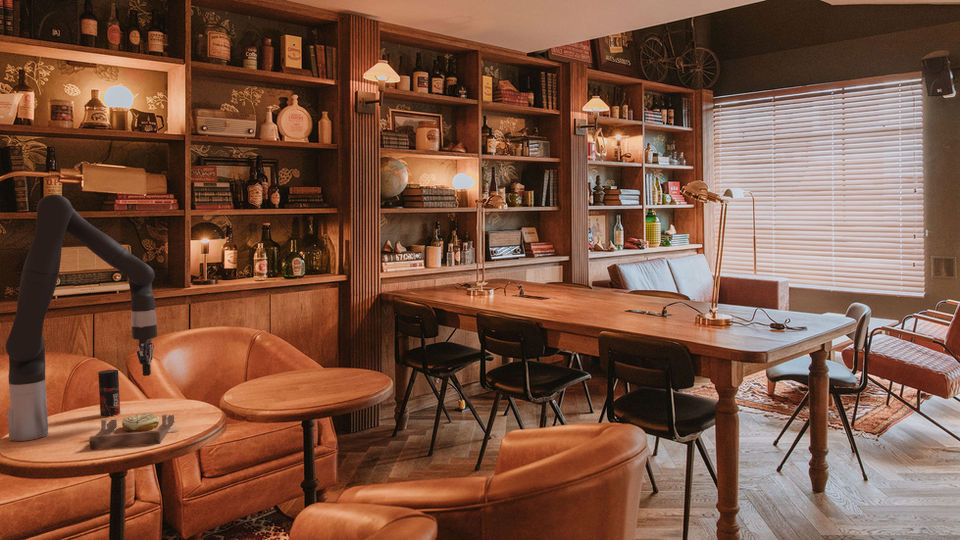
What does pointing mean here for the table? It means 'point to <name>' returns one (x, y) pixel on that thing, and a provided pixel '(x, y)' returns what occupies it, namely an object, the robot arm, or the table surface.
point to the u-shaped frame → (129, 435)
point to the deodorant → (109, 392)
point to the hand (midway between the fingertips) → (146, 375)
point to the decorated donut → (140, 422)
